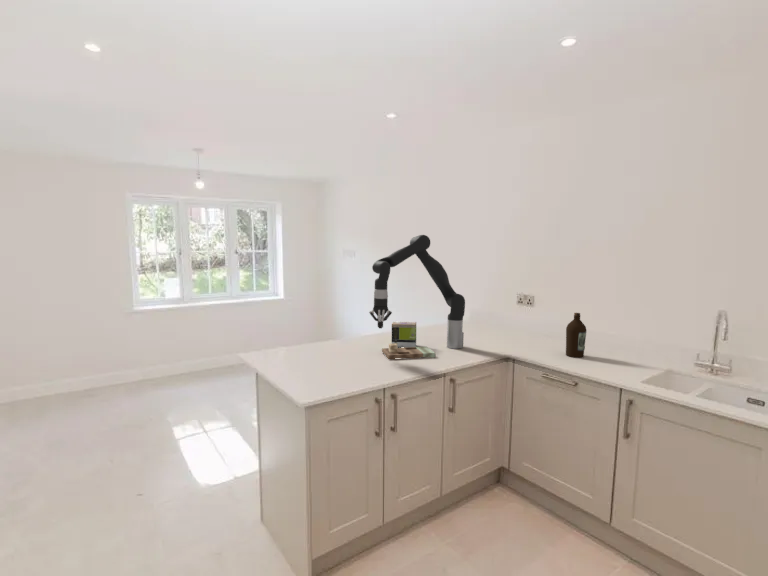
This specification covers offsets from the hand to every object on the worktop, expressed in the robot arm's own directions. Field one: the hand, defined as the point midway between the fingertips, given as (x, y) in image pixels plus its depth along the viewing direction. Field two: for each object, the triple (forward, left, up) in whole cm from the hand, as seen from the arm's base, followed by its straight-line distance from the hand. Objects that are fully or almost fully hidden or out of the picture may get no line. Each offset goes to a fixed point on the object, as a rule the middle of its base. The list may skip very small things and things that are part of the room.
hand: (380, 328), depth 235 cm
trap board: (-17, 0, -16) cm, 23 cm away
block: (-8, 0, -14) cm, 16 cm away
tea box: (-20, -20, -16) cm, 33 cm away
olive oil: (-111, +20, -16) cm, 114 cm away
